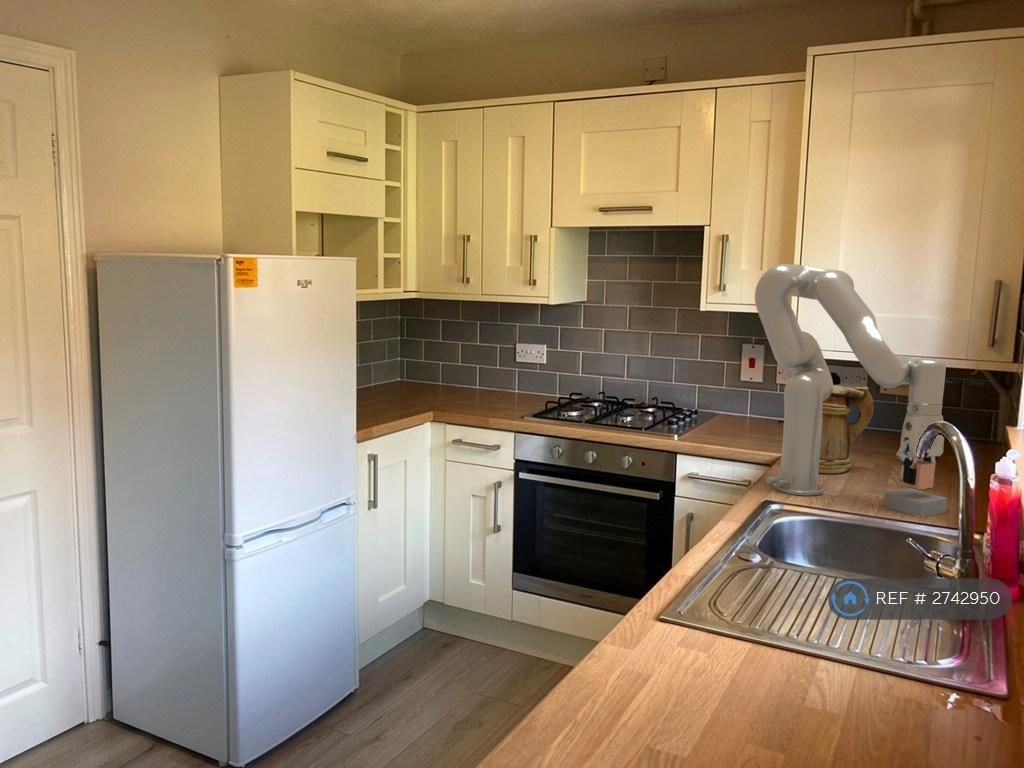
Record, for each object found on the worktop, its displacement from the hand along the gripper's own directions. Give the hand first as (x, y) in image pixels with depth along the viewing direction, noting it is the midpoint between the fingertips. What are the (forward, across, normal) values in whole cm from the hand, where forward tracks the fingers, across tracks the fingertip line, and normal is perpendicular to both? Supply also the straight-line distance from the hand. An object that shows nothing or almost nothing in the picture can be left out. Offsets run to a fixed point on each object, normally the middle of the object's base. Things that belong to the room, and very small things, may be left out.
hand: (917, 481), depth 208 cm
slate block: (+8, 0, 0) cm, 8 cm away
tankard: (+7, +11, +41) cm, 43 cm away
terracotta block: (+1, 0, 0) cm, 1 cm away
